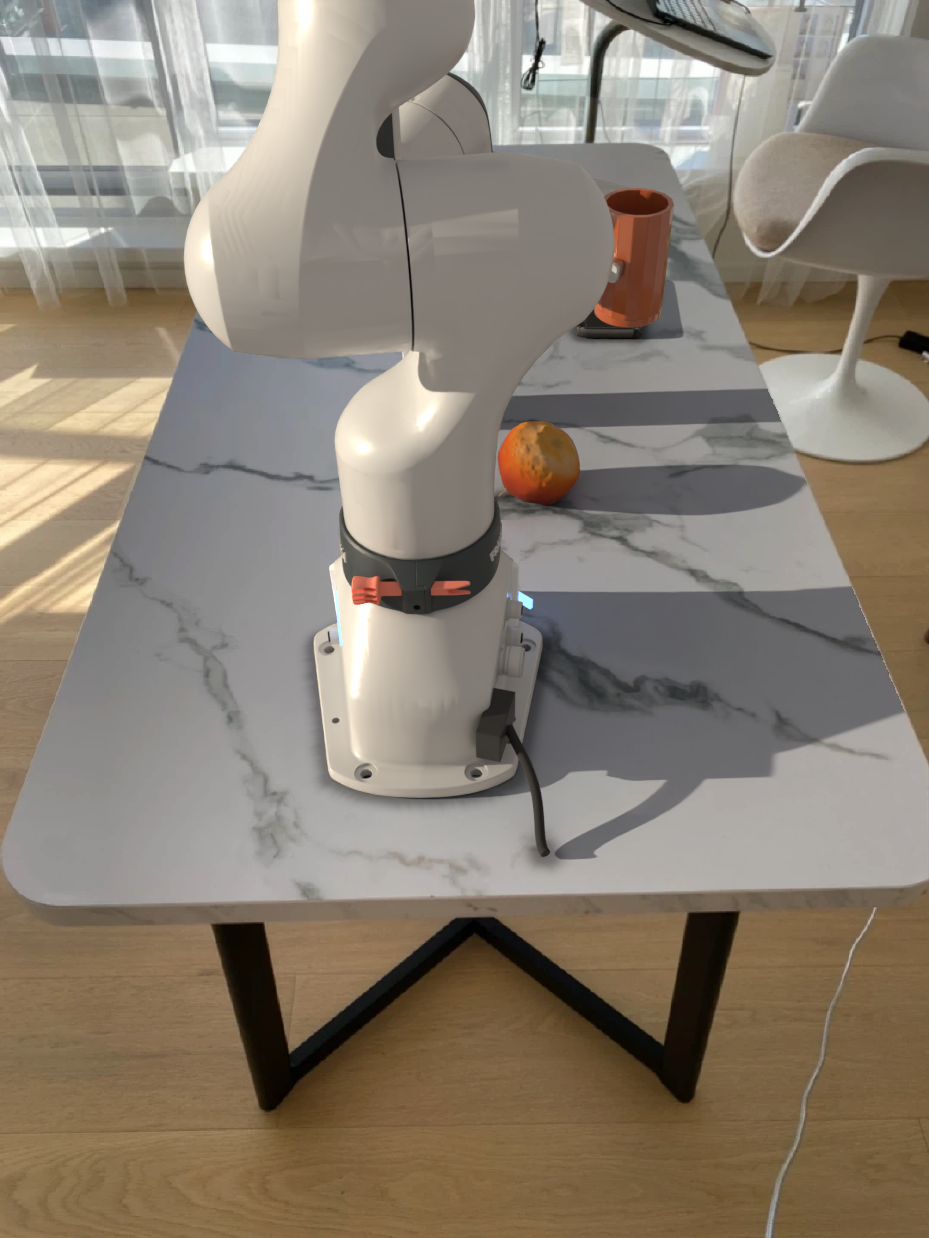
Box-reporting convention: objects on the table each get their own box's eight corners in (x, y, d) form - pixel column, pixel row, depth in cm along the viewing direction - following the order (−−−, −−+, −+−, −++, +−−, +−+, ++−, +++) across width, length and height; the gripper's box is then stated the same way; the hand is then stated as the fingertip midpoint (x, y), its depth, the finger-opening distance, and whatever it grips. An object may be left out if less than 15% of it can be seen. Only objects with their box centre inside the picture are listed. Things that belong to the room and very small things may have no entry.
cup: (664, 327, 102) (678, 216, 95) (596, 328, 102) (604, 217, 95) (656, 295, 107) (668, 187, 99) (591, 296, 107) (598, 188, 99)
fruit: (493, 446, 105) (535, 393, 99) (557, 491, 106) (602, 442, 100) (467, 492, 99) (509, 439, 94) (534, 540, 100) (580, 490, 95)
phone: (576, 329, 122) (574, 270, 133) (575, 337, 123) (574, 279, 134) (644, 329, 122) (637, 271, 132) (643, 338, 122) (636, 279, 133)
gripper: (459, 230, 98) (588, 266, 92) (570, 159, 110) (691, 187, 104) (460, 293, 102) (584, 331, 96) (567, 218, 114) (683, 248, 108)
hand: (641, 255), depth 100 cm, fingers closed on cup, 7 cm apart
